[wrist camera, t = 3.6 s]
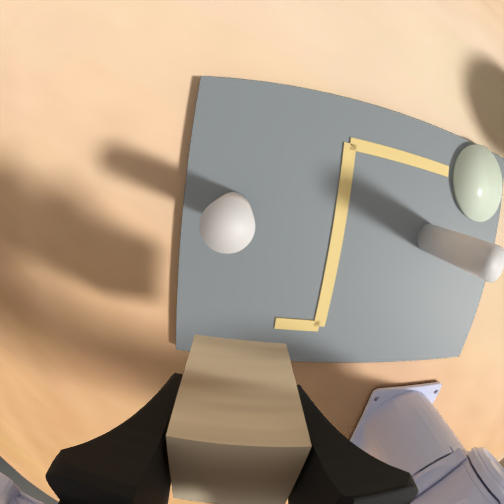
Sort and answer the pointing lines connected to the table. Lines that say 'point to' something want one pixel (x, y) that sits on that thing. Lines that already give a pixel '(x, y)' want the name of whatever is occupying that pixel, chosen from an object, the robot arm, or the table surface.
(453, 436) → the robot arm
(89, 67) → the table surface
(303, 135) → the board
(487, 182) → the pad
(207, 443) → the block
